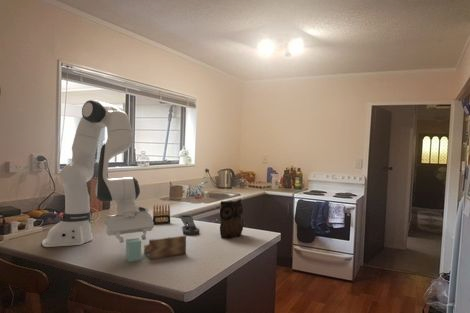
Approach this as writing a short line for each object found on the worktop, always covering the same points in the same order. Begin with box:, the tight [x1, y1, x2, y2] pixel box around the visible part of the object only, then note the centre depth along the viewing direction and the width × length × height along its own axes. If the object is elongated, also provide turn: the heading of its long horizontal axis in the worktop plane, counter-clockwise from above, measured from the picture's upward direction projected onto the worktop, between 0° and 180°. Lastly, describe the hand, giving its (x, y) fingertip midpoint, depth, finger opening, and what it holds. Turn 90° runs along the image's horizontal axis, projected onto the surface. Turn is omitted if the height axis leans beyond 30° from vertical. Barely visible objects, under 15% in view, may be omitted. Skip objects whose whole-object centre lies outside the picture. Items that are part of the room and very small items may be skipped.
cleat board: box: [143, 235, 187, 260], centre depth 152 cm, size 16×10×8 cm, turn 120°
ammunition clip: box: [152, 203, 171, 225], centre depth 212 cm, size 11×2×12 cm, turn 109°
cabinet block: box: [125, 237, 142, 262], centre depth 144 cm, size 5×6×8 cm
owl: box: [219, 198, 245, 240], centre depth 183 cm, size 13×13×20 cm
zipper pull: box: [178, 214, 200, 237], centre depth 196 cm, size 9×7×25 cm
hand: (133, 240), depth 147 cm, fingers open, 8 cm apart
